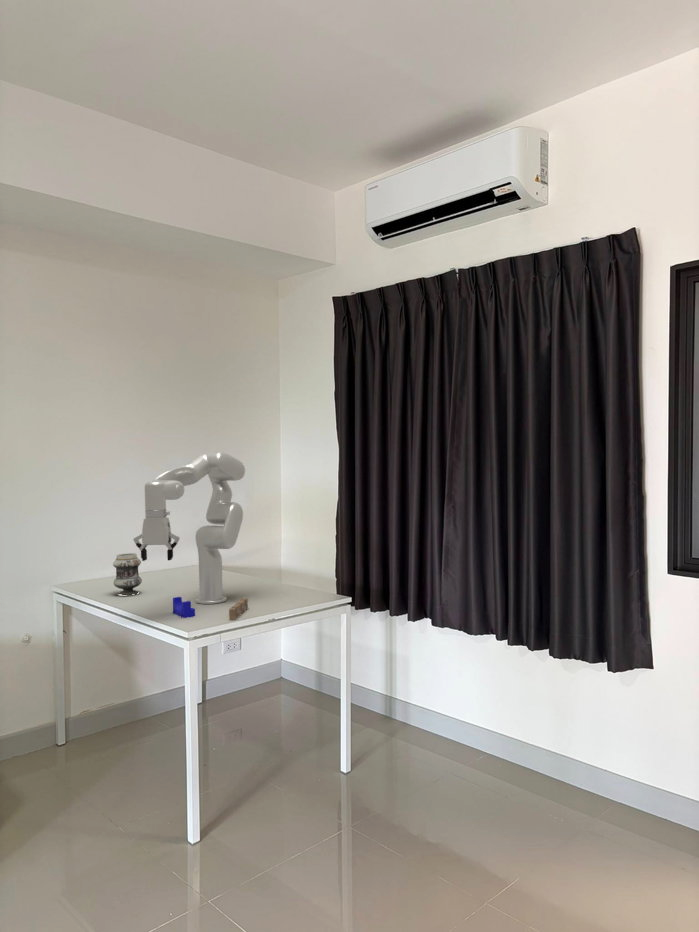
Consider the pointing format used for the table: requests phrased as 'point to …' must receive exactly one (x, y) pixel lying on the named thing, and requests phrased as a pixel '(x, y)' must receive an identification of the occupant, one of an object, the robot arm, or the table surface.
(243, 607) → the walnut rail
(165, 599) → the table surface
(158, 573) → the table surface
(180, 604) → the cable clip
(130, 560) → the apothecary jar
